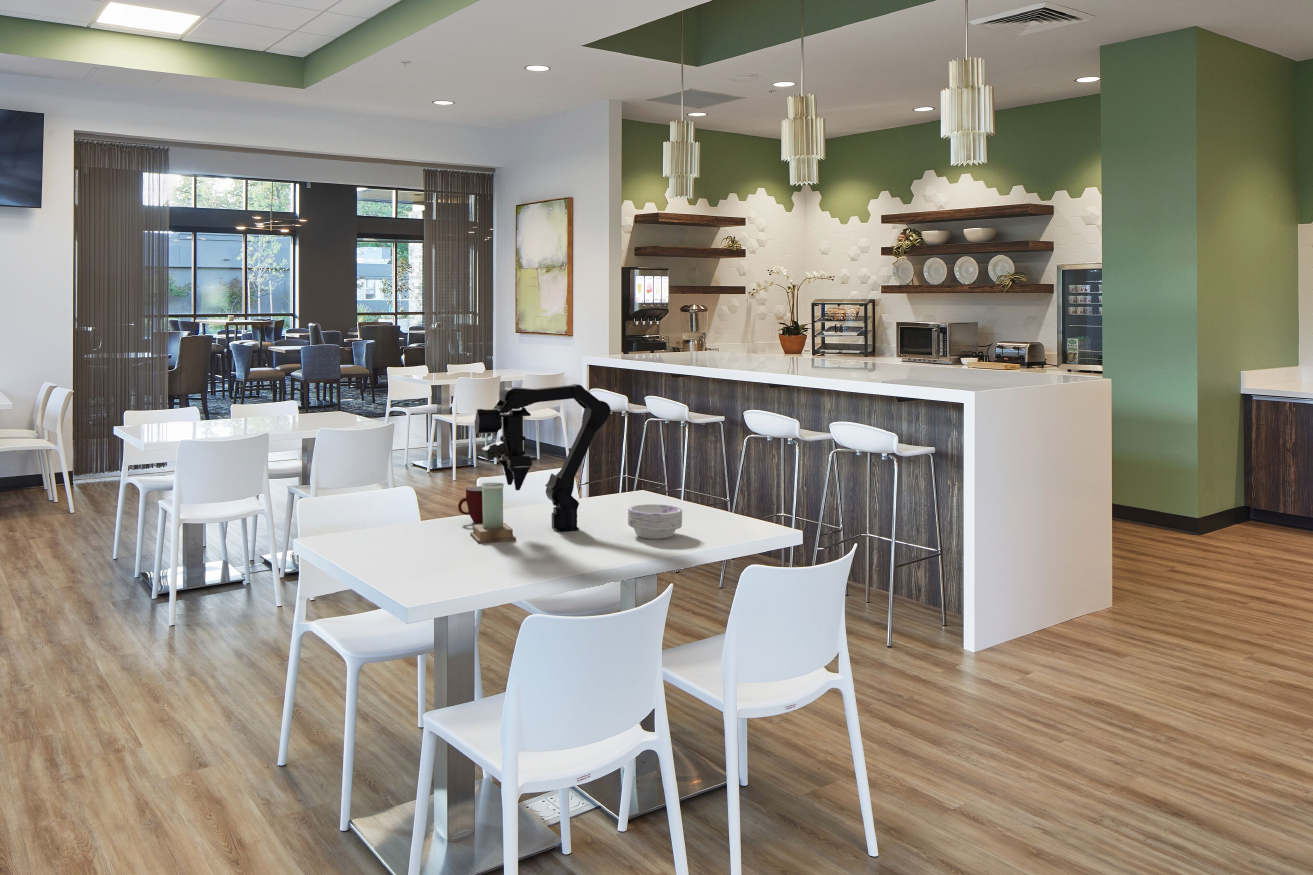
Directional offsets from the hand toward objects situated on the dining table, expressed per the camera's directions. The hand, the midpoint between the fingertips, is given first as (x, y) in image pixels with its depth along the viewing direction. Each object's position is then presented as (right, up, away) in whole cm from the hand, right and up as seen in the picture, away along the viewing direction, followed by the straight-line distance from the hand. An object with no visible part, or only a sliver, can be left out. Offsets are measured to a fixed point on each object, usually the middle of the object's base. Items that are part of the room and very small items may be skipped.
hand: (513, 487), depth 279 cm
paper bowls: (+40, -14, -1) cm, 42 cm away
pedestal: (-5, -14, -5) cm, 15 cm away
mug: (-13, -11, +16) cm, 23 cm away
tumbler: (-5, -11, -5) cm, 13 cm away
